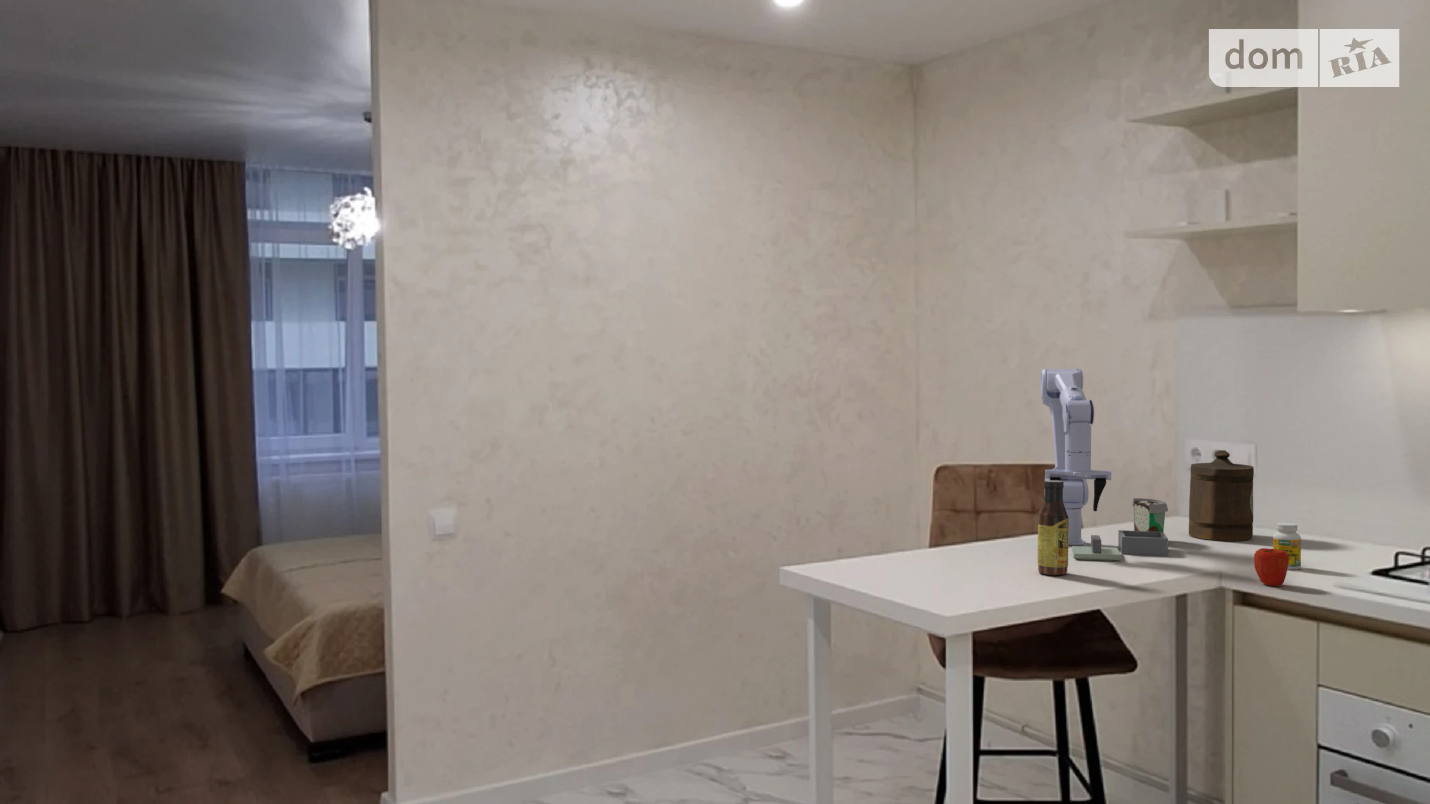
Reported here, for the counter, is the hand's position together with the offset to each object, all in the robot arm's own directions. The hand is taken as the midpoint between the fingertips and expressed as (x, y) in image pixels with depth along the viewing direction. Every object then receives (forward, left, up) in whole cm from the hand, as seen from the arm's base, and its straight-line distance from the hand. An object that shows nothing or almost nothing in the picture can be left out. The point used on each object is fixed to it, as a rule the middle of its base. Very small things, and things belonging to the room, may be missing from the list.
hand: (1077, 510), depth 257 cm
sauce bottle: (-6, -24, -11) cm, 27 cm away
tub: (+15, +8, -10) cm, 20 cm away
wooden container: (+36, +34, -11) cm, 51 cm away
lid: (+4, -2, -11) cm, 12 cm away
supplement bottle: (+43, -6, -11) cm, 45 cm away
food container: (+19, +23, -11) cm, 32 cm away
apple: (+36, -26, -11) cm, 46 cm away
